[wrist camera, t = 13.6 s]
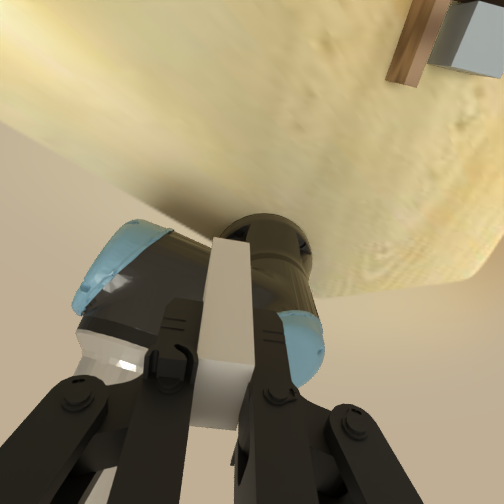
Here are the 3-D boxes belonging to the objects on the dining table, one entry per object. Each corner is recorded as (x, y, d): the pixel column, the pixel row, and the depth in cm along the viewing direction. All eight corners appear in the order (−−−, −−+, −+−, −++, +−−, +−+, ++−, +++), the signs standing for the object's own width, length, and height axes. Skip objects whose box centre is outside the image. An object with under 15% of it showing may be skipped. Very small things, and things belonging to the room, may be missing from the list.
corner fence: (479, 102, 47) (508, 109, 42) (385, 79, 45) (404, 84, 40) (526, 2, 42) (567, -3, 36) (422, -27, 40) (449, -37, 35)
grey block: (470, 74, 45) (500, 78, 40) (426, 63, 45) (450, 66, 39) (496, 18, 42) (531, 15, 37) (449, 5, 42) (478, 0, 36)
